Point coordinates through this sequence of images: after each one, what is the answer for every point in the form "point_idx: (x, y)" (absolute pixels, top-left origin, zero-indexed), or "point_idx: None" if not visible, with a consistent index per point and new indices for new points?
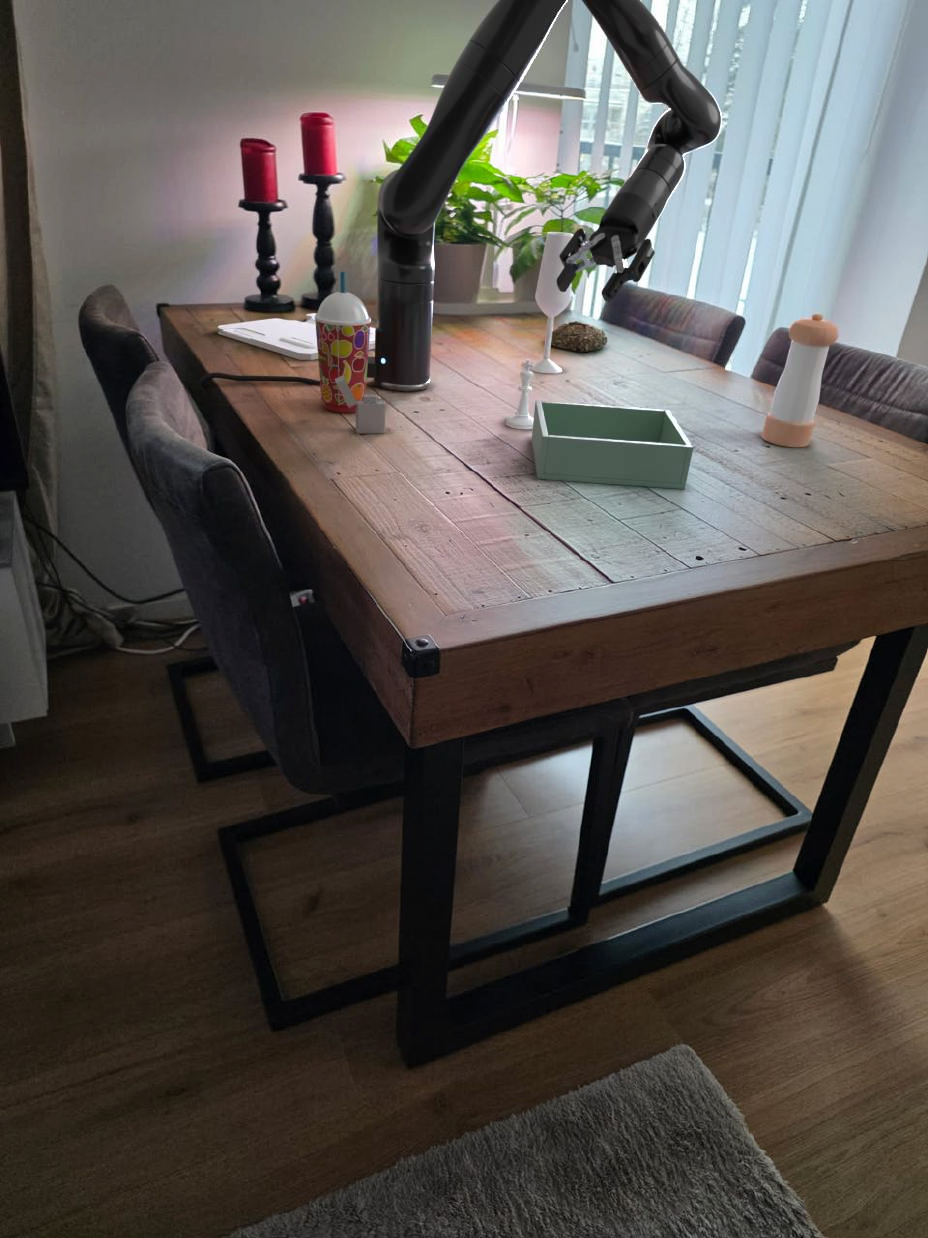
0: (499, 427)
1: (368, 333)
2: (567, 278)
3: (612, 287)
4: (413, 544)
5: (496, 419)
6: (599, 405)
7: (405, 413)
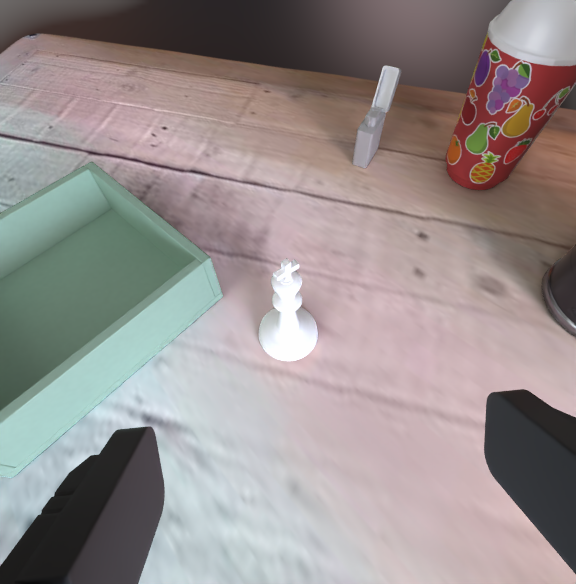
0: None
1: (500, 75)
2: (539, 470)
3: (76, 485)
4: (115, 73)
5: (335, 316)
6: (102, 339)
7: (421, 221)
